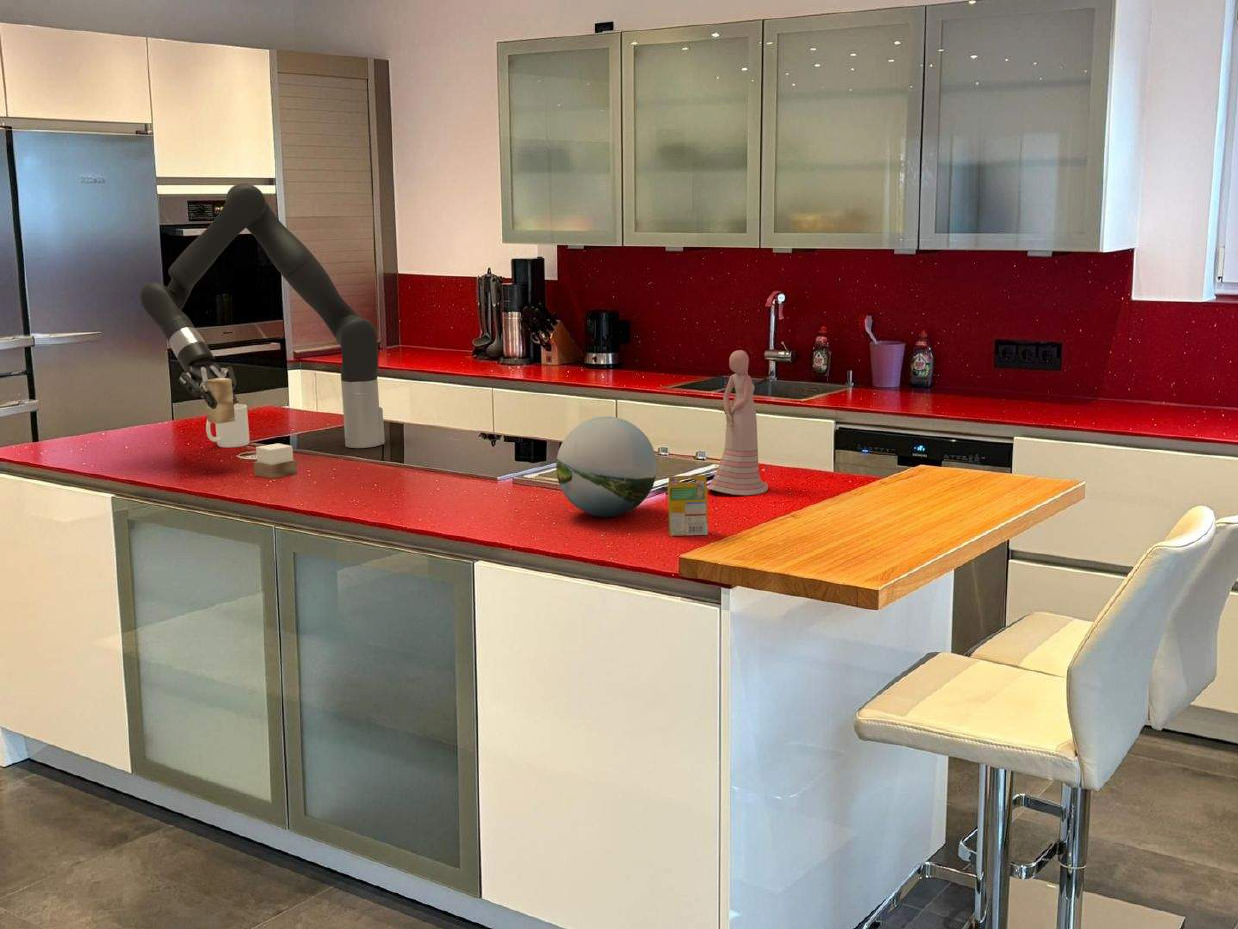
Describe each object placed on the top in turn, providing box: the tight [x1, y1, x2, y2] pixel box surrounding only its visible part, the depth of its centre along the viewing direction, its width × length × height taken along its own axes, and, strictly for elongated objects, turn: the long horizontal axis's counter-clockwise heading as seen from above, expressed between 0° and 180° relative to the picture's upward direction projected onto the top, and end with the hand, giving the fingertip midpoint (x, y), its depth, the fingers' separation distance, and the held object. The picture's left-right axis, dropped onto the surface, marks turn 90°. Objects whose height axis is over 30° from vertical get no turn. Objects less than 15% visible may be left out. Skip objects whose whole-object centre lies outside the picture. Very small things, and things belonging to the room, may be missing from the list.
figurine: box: [707, 349, 769, 496], centre depth 287 cm, size 13×13×30 cm
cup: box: [205, 403, 251, 449], centre depth 355 cm, size 8×12×10 cm
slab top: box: [255, 442, 294, 465], centre depth 318 cm, size 6×6×4 cm
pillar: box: [205, 378, 235, 425], centre depth 319 cm, size 4×4×10 cm
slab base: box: [253, 459, 298, 480], centre depth 319 cm, size 7×7×4 cm
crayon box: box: [667, 474, 709, 538], centre depth 254 cm, size 7×3×12 cm, turn 92°
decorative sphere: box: [555, 416, 658, 518], centre depth 269 cm, size 20×20×20 cm
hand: (224, 404), depth 318 cm, fingers closed on pillar, 4 cm apart
